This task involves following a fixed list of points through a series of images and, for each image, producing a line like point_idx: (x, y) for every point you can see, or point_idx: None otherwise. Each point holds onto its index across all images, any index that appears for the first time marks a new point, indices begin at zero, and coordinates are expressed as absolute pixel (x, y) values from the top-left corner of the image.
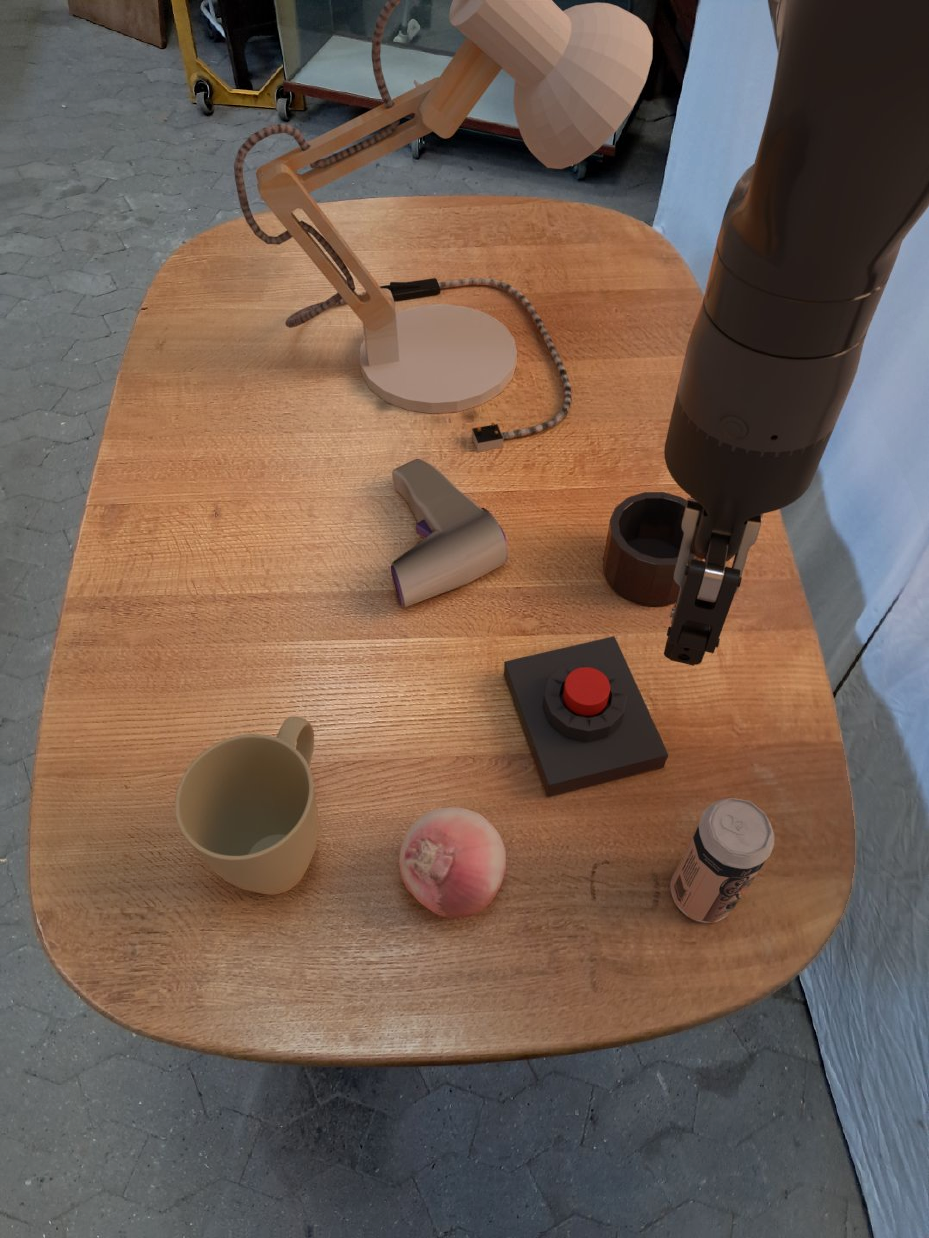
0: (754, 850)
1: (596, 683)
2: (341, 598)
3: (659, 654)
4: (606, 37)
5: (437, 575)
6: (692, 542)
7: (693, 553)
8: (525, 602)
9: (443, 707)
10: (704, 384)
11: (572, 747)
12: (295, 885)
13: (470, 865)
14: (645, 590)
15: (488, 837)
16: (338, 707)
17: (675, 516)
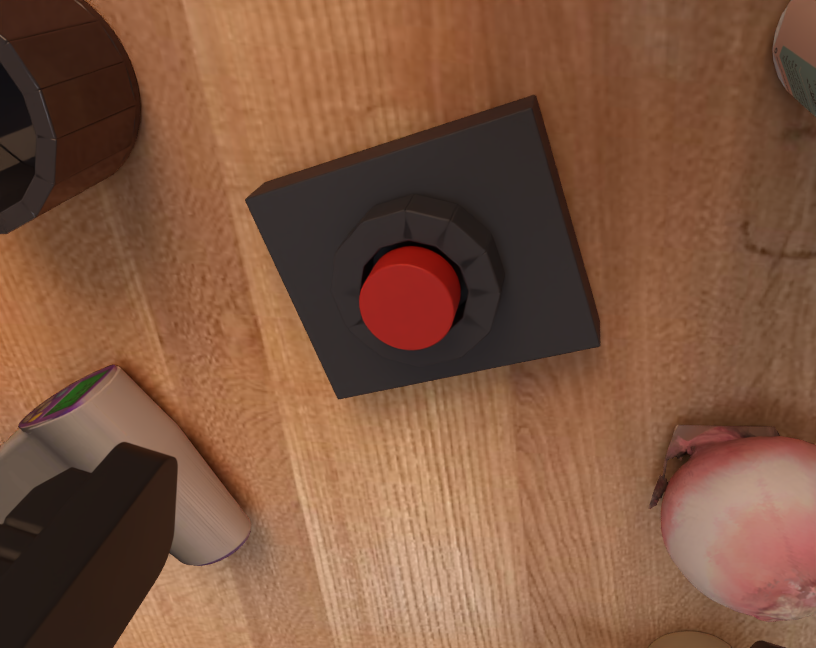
0: None
1: (398, 290)
2: (245, 578)
3: (255, 80)
4: None
5: (188, 505)
6: (137, 599)
7: (171, 530)
8: (189, 330)
9: (424, 462)
10: None
11: (518, 300)
12: (729, 646)
13: None
14: (112, 124)
15: (759, 511)
16: (436, 588)
17: None
